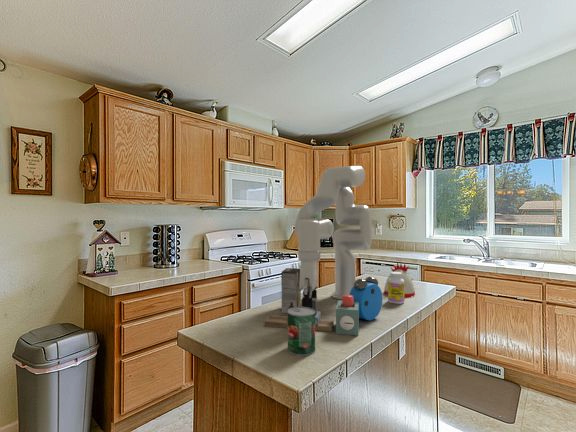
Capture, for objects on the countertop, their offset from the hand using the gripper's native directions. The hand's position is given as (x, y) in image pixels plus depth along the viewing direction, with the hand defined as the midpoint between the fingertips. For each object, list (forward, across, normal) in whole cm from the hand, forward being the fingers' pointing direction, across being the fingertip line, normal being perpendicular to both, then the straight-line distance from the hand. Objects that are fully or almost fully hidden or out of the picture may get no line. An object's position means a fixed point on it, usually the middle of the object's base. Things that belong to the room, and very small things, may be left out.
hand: (309, 305), depth 106 cm
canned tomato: (+7, +20, +1) cm, 21 cm away
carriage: (+5, +1, 0) cm, 5 cm away
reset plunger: (+1, +1, +13) cm, 13 cm away
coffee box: (+7, -15, -10) cm, 20 cm away
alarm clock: (+8, -11, +19) cm, 23 cm away
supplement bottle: (+8, -36, +32) cm, 49 cm away
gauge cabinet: (+7, +1, +13) cm, 15 cm away
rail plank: (+7, +1, -4) cm, 8 cm away
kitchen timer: (+9, -52, +35) cm, 63 cm away
